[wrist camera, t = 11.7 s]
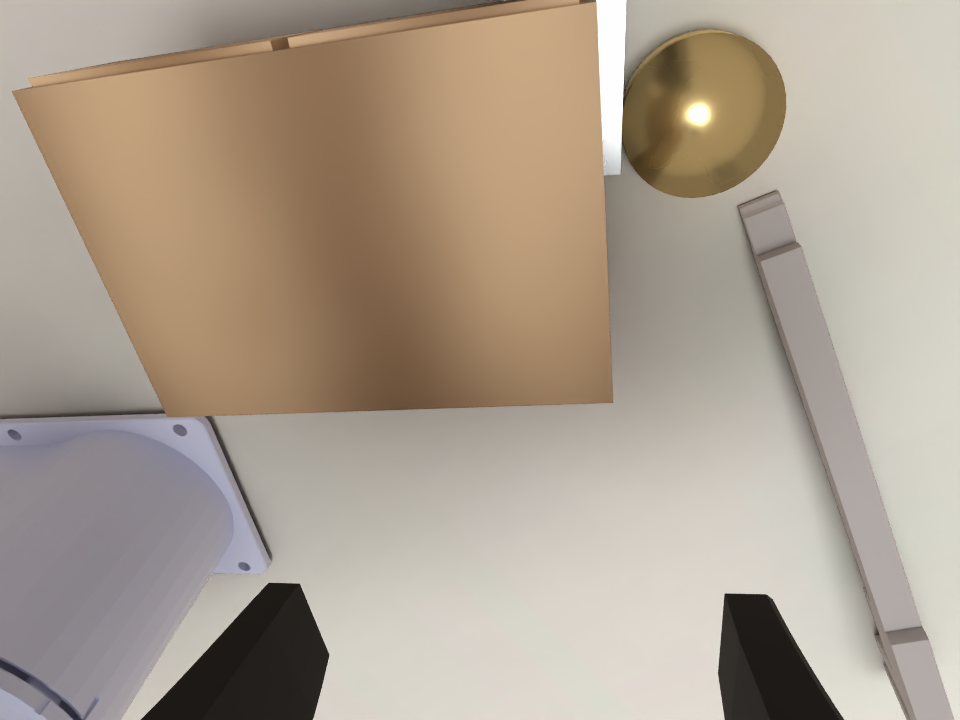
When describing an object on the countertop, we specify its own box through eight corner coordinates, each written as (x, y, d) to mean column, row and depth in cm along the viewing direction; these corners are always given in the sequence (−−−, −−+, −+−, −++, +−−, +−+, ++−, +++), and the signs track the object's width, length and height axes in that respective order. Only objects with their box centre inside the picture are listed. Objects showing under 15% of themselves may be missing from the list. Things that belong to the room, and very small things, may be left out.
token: (615, 185, 17) (618, 199, 16) (622, 33, 15) (625, 37, 14) (759, 182, 16) (770, 196, 15) (785, 23, 14) (800, 27, 13)
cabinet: (278, 299, 20) (167, 417, 14) (195, 46, 16) (7, 82, 11) (605, 276, 18) (613, 402, 13) (592, -17, 14) (596, -11, 9)
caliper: (913, 660, 25) (1004, 849, 19) (881, 665, 25) (963, 852, 20) (775, 185, 16) (869, 288, 11) (731, 203, 17) (802, 311, 11)
